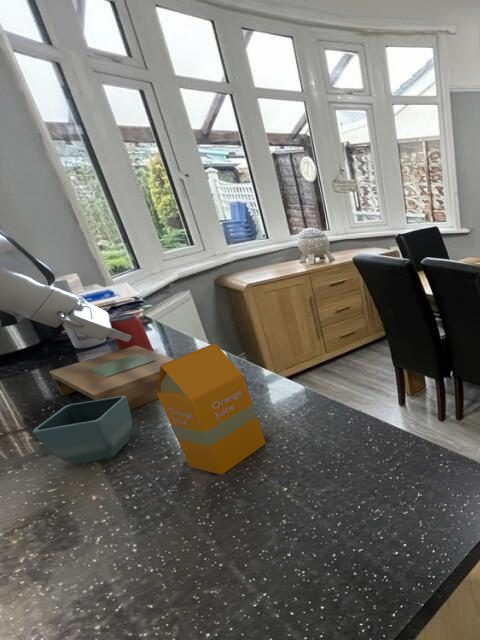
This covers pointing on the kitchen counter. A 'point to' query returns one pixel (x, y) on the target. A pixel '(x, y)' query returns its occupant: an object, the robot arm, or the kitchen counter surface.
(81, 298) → the bath foam
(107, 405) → the flower pot
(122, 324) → the beer can
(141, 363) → the wooden slab
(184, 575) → the kitchen counter surface
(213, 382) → the orange juice
